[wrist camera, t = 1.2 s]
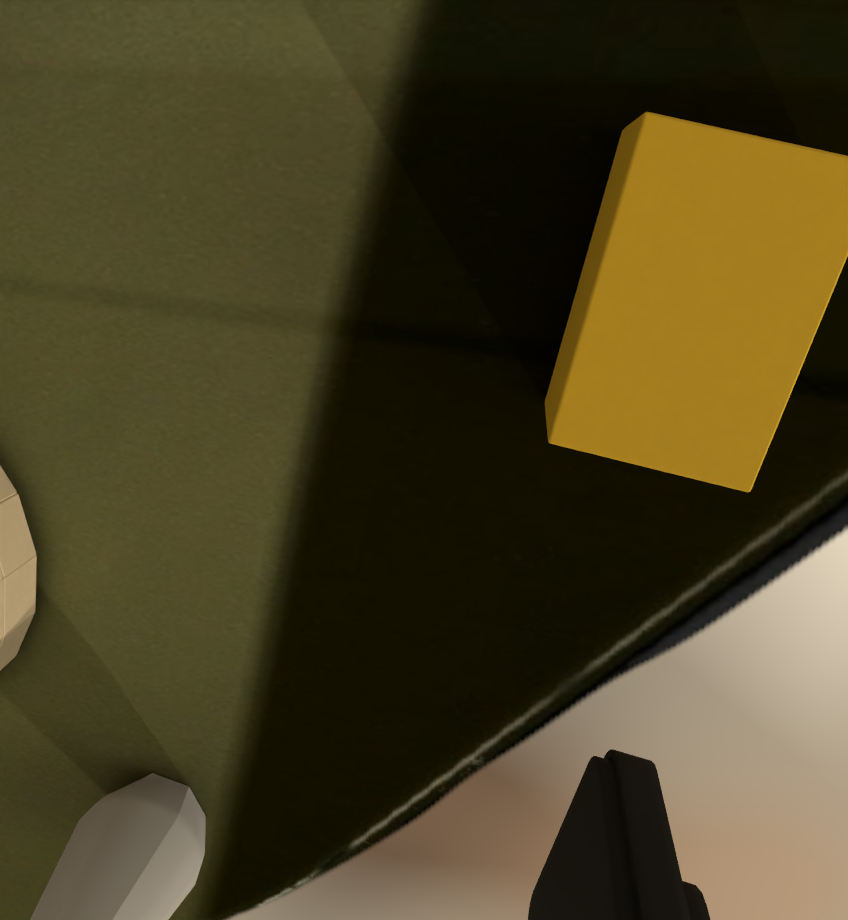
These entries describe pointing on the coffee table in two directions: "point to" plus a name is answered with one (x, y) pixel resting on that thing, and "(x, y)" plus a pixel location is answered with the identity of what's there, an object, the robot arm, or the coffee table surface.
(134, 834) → the salt shaker
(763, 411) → the sponge
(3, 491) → the bowl
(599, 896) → the robot arm
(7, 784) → the coffee table surface
